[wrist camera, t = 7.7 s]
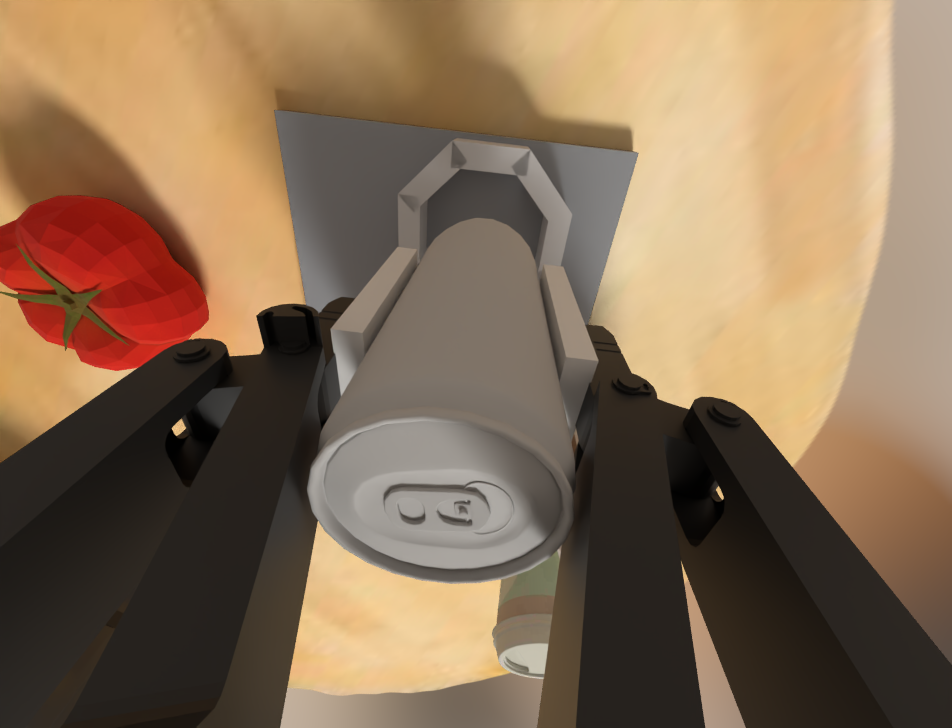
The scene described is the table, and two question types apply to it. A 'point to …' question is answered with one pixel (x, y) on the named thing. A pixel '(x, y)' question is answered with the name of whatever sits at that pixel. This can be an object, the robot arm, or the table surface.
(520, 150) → the socket board
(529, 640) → the coffee cup
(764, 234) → the table surface
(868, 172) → the table surface
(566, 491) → the beverage can
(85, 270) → the tomato
